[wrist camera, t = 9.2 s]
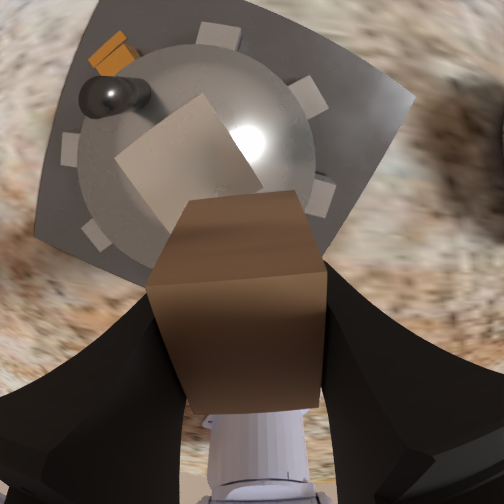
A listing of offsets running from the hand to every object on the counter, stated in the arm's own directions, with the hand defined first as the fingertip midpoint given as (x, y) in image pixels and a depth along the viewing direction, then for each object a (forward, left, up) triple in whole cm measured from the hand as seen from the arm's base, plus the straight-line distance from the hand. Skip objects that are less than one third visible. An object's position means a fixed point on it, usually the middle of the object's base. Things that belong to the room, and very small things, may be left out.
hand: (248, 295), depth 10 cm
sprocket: (+1, +4, -9) cm, 10 cm away
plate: (+1, +4, -9) cm, 10 cm away
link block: (0, 0, -2) cm, 2 cm away
